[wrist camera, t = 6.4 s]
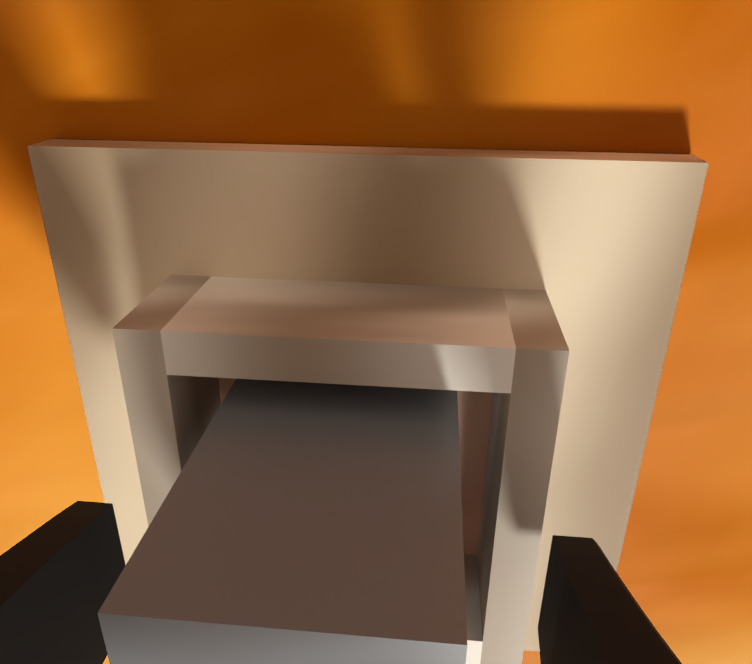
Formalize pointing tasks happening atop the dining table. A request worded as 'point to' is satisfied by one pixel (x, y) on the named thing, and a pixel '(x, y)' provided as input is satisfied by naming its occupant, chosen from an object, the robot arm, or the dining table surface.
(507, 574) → the holder box
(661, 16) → the dining table surface
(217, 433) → the plug
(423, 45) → the dining table surface
